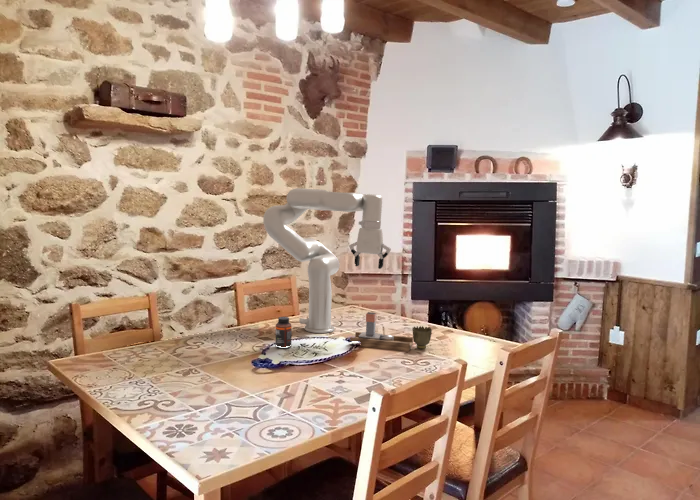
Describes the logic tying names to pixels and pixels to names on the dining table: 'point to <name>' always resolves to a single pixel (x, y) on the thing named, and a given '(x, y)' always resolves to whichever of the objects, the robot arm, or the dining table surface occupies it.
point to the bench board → (385, 342)
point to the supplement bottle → (283, 332)
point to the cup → (421, 336)
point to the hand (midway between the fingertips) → (368, 267)
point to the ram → (373, 329)
